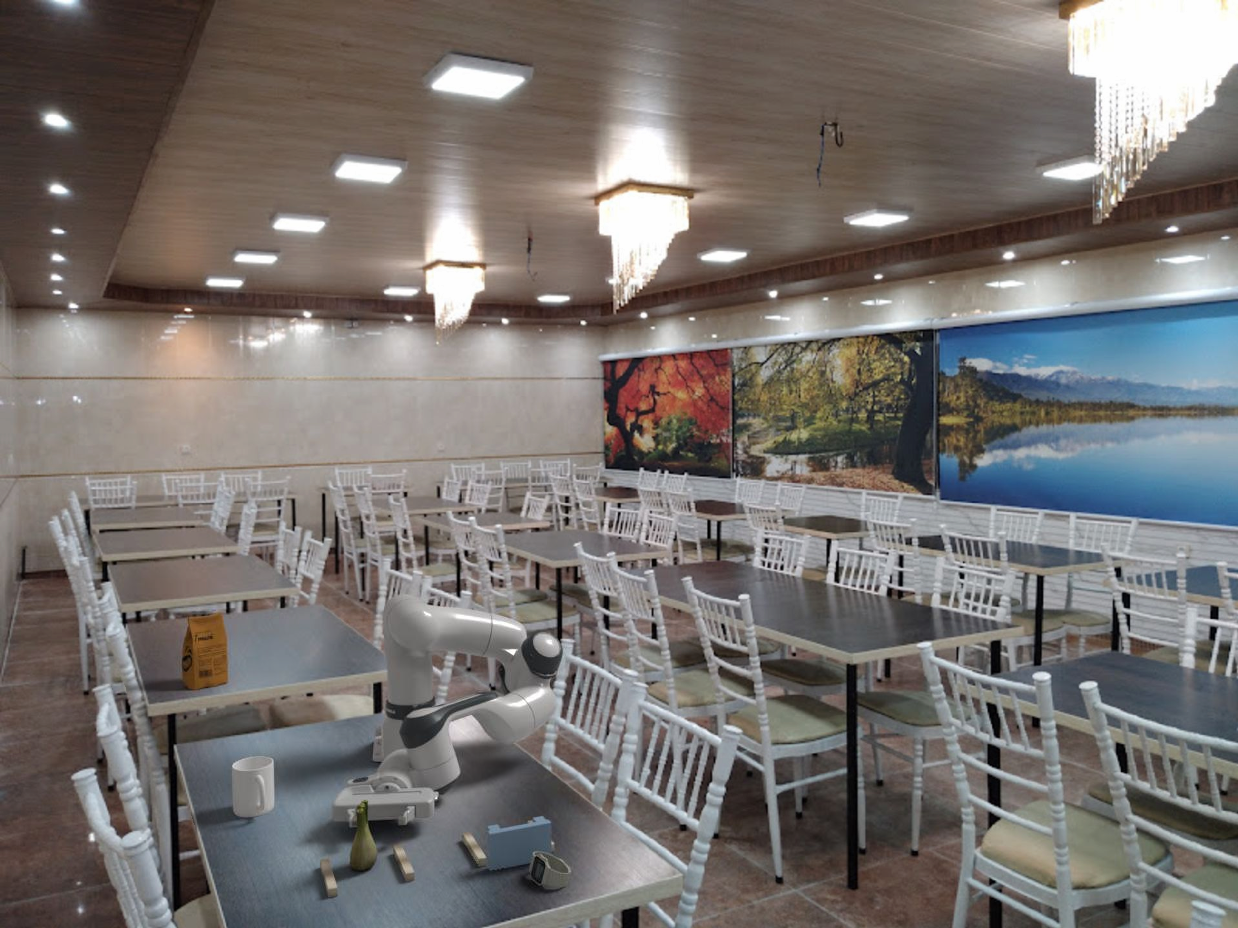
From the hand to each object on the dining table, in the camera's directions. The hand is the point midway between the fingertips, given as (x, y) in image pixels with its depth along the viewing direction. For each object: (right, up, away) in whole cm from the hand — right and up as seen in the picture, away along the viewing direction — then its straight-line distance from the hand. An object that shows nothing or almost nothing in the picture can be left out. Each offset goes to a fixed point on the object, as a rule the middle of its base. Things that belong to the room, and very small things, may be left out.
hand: (377, 822), depth 185 cm
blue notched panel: (+28, -5, -7) cm, 30 cm away
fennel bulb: (-1, -6, -8) cm, 10 cm away
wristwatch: (+35, -6, -12) cm, 37 cm away
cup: (-30, -4, +16) cm, 34 cm away
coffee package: (-82, +1, +111) cm, 138 cm away
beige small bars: (+13, -5, -5) cm, 15 cm away
